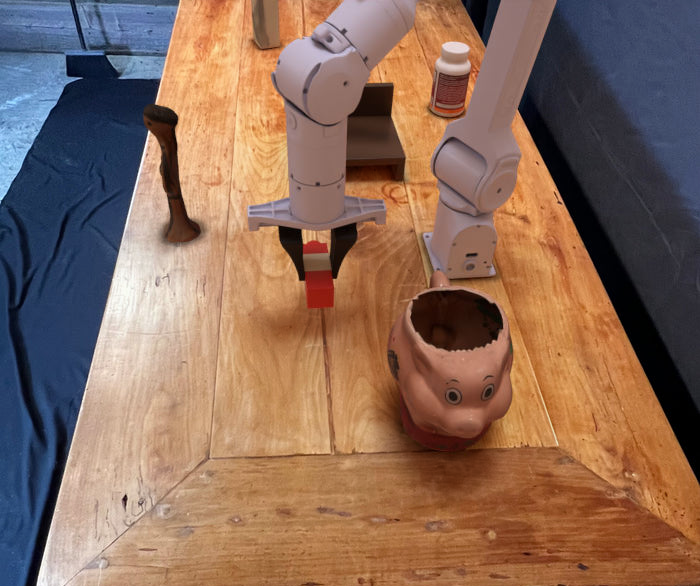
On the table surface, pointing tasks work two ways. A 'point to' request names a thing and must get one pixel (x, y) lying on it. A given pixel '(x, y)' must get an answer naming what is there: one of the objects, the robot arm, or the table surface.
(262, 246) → the table surface
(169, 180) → the figurine
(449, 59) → the pill bottle
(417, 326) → the decorative planter
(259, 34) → the box
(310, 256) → the red and white block
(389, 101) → the shelf
